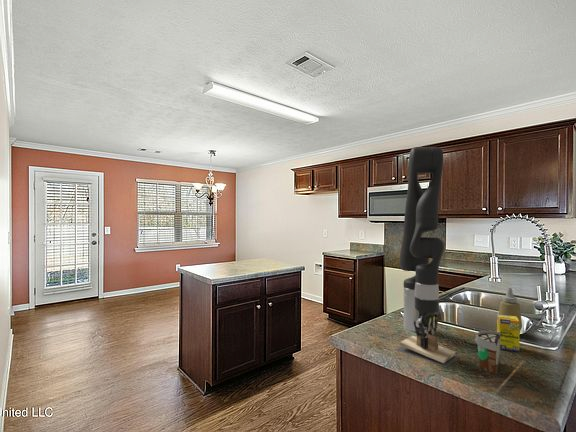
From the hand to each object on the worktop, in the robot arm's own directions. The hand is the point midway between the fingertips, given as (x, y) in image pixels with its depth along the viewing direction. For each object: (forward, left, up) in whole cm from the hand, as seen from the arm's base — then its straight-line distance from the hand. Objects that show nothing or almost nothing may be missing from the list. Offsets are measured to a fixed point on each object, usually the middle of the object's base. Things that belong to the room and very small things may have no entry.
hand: (426, 346), depth 107 cm
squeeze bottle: (-28, +36, -3) cm, 46 cm away
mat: (0, 0, -3) cm, 3 cm away
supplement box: (-12, +29, -3) cm, 32 cm away
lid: (0, 0, -1) cm, 1 cm away
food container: (+6, +16, -3) cm, 17 cm away
